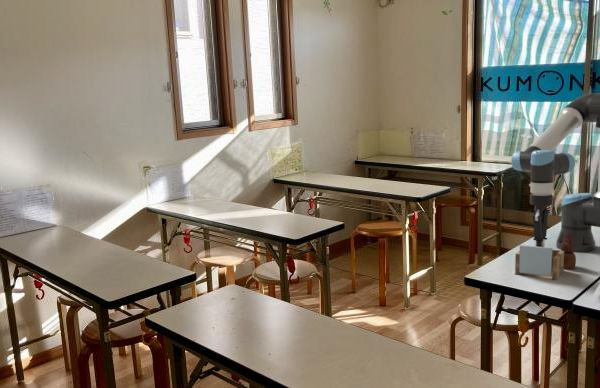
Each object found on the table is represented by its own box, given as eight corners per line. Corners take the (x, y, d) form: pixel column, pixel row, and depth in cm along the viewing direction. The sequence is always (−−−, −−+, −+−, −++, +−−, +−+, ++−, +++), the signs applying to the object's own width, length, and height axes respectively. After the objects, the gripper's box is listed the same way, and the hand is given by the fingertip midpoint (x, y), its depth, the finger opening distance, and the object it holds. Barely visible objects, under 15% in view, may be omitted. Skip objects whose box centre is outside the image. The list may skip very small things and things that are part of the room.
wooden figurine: (577, 273, 217) (578, 234, 214) (560, 273, 218) (561, 234, 215) (572, 268, 223) (574, 229, 221) (556, 268, 224) (557, 229, 222)
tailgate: (520, 271, 214) (520, 244, 213) (551, 275, 208) (552, 248, 206) (519, 272, 213) (519, 245, 212) (550, 276, 207) (551, 249, 205)
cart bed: (524, 269, 225) (524, 246, 223) (563, 274, 217) (564, 250, 215) (514, 278, 215) (514, 254, 213) (555, 284, 207) (556, 259, 205)
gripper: (535, 190, 218) (533, 252, 222) (525, 195, 208) (524, 260, 212) (556, 191, 214) (555, 254, 218) (547, 197, 204) (546, 263, 207)
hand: (539, 257), depth 215 cm, fingers closed
